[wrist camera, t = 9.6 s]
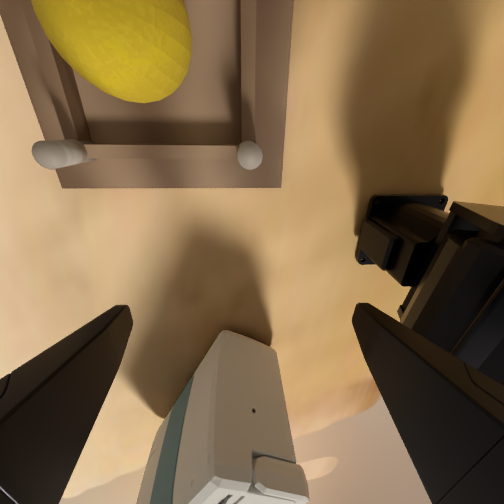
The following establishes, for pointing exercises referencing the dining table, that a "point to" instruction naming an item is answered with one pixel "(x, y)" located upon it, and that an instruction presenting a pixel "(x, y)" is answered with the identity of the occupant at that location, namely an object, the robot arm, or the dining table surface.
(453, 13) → the dining table surface
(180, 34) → the lemon
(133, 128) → the cradle tray
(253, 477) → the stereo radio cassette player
